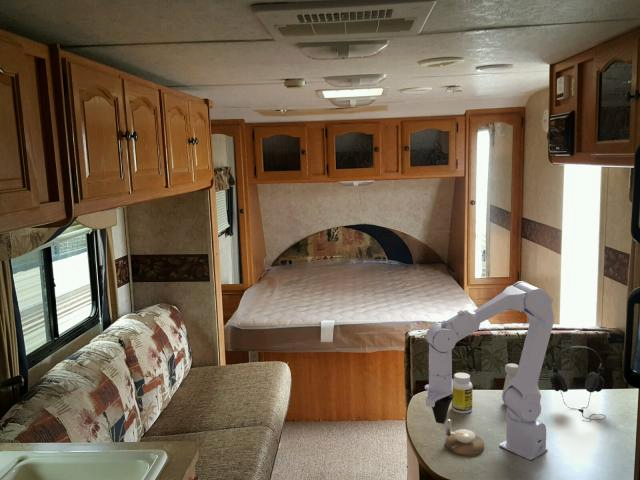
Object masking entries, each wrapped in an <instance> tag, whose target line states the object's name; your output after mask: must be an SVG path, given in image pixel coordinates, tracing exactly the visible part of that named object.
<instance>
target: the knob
mask: <svg viewBox="0 0 640 480" xmlns="http://www.w3.org/2000/svg"><path fill="white" fill-rule="evenodd" d="M445 435H446V437H447V436H454V438H455V439H456V440H458V441H460V442H465V443H468V442H473V441H474V440H475V437H476V436H477V435H476V433H475V432H474V431H472V430H470V429H464V428H459V429H457V430H454V431H452V419H450V418H446V421H445Z"/></svg>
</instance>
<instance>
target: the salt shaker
mask: <svg viewBox="0 0 640 480" xmlns="http://www.w3.org/2000/svg"><path fill="white" fill-rule="evenodd" d="M518 366H519V364H516V363H513V362H512V363H507V364H505V366H504V371H505V373H506V376H505V380H504V385H503V389H502V393H501V396H502V395H503V392H504V390H505V389H506V388H507V387H508V385H509V381H510V380H511V379H513V378H515V377H516V374H517V370H518ZM503 404H504V405H505V406H506V407H507V405H506V404H505V403H504V402H503Z"/></svg>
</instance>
